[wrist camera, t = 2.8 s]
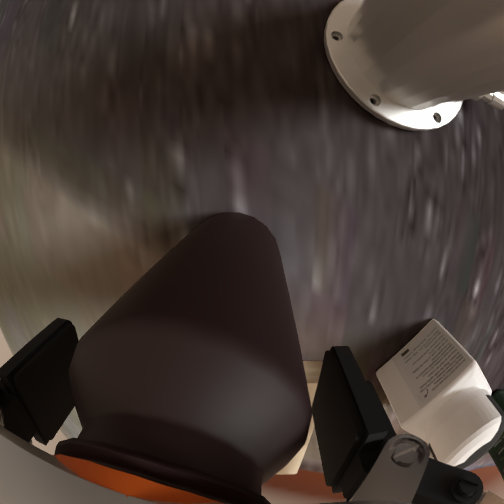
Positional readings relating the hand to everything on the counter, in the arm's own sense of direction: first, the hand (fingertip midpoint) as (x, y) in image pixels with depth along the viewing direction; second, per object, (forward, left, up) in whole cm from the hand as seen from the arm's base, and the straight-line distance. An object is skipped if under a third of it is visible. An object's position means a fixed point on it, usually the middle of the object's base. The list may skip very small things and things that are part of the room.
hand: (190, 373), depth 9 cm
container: (-19, +10, -12) cm, 25 cm away
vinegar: (0, 0, -12) cm, 12 cm away
